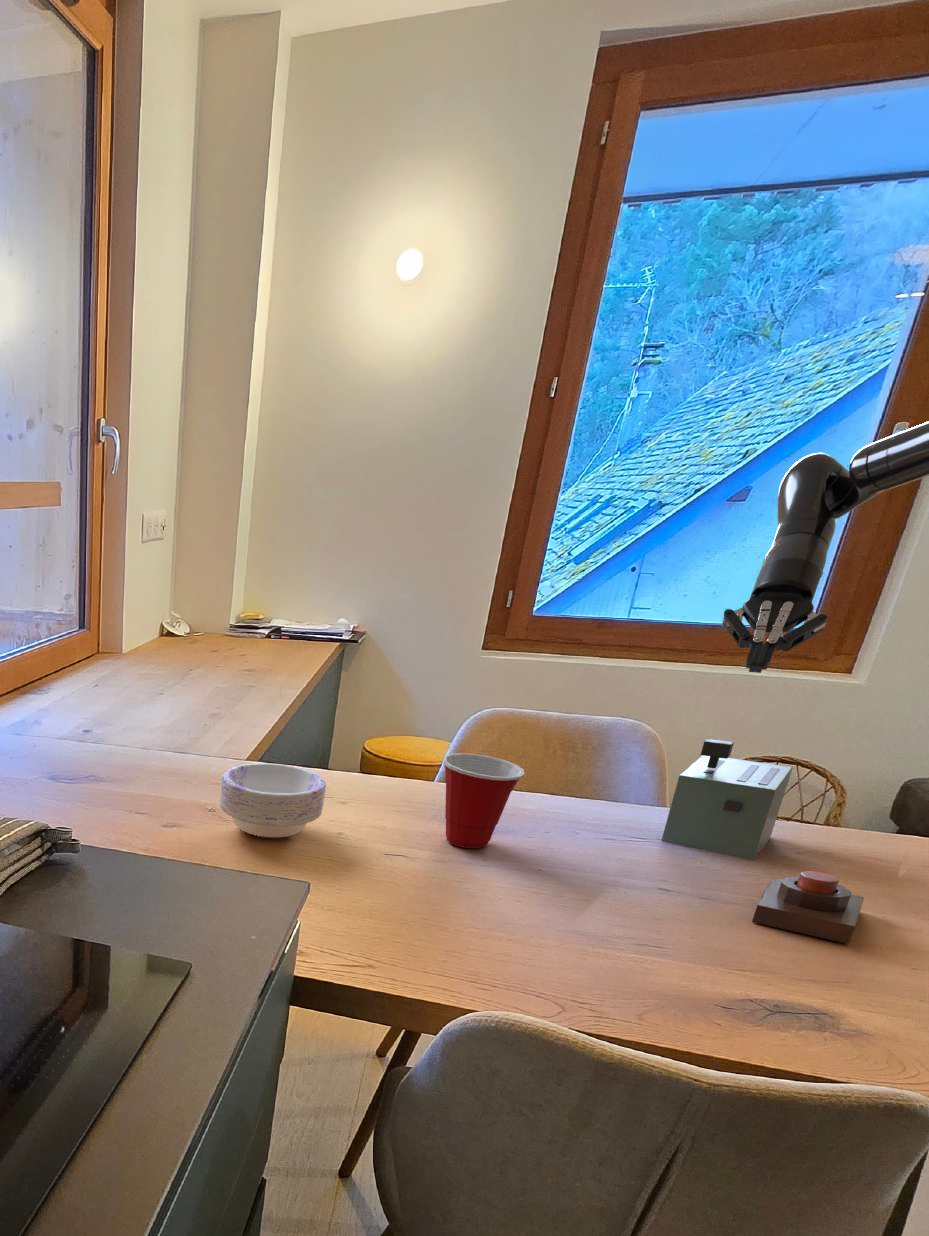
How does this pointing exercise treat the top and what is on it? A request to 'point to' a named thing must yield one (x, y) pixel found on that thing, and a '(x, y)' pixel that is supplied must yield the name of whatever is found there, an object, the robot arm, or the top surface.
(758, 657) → the robot arm
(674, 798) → the toaster
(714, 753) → the toaster slider
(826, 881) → the button
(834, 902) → the box
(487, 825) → the plastic cup
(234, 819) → the paper bowls
